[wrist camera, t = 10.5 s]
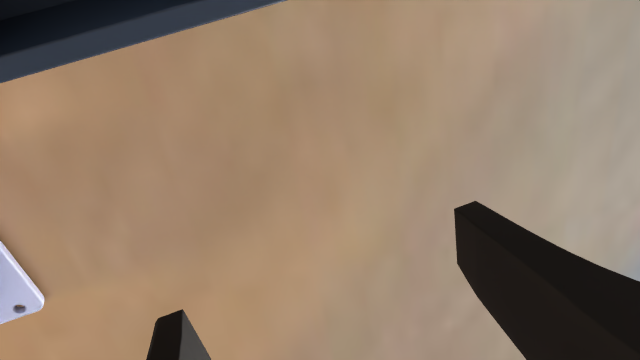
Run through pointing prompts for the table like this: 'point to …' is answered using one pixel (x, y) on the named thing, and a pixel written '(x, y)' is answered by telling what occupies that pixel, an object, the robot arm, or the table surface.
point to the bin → (96, 27)
